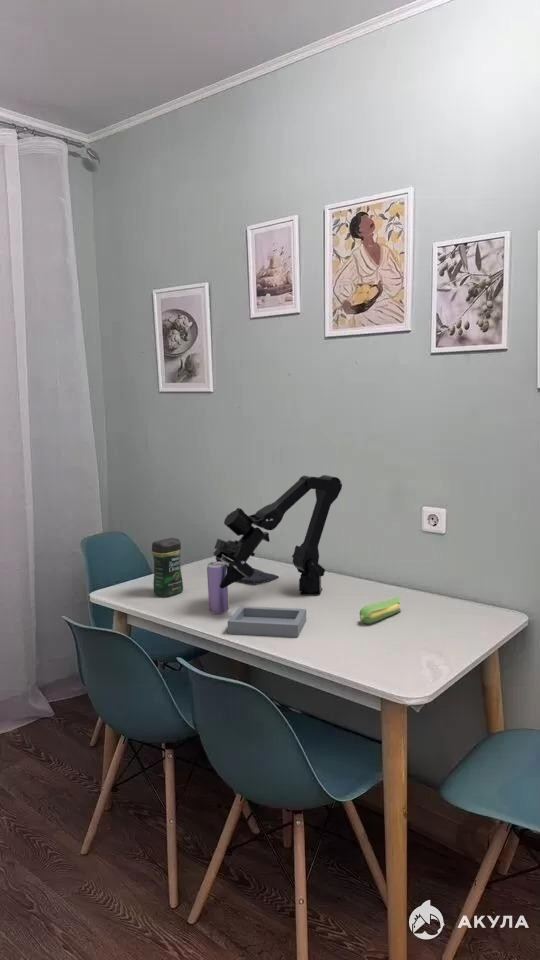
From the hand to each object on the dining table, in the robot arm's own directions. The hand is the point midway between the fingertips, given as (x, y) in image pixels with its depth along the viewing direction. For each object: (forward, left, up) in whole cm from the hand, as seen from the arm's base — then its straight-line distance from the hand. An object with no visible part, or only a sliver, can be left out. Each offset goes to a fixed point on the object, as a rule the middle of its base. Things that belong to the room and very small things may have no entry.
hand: (216, 585), depth 212 cm
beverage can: (0, 0, -9) cm, 9 cm away
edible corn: (-50, -3, -9) cm, 51 cm away
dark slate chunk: (+1, -37, -9) cm, 38 cm away
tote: (-18, +10, -8) cm, 23 cm away
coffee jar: (+22, -15, -9) cm, 28 cm away
